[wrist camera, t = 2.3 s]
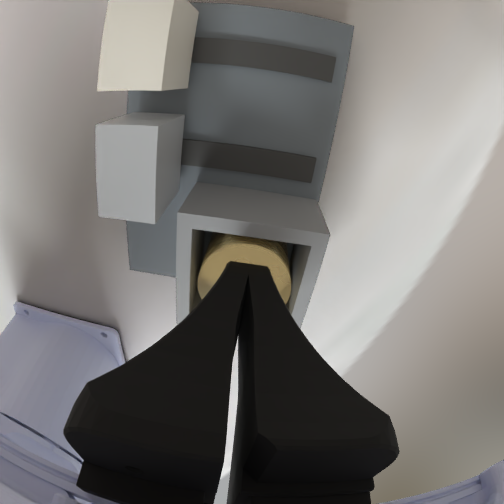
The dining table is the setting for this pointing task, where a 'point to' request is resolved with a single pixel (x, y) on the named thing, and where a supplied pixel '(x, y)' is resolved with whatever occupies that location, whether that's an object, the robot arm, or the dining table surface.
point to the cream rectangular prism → (147, 45)
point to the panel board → (248, 144)
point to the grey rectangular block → (138, 165)
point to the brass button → (245, 260)
